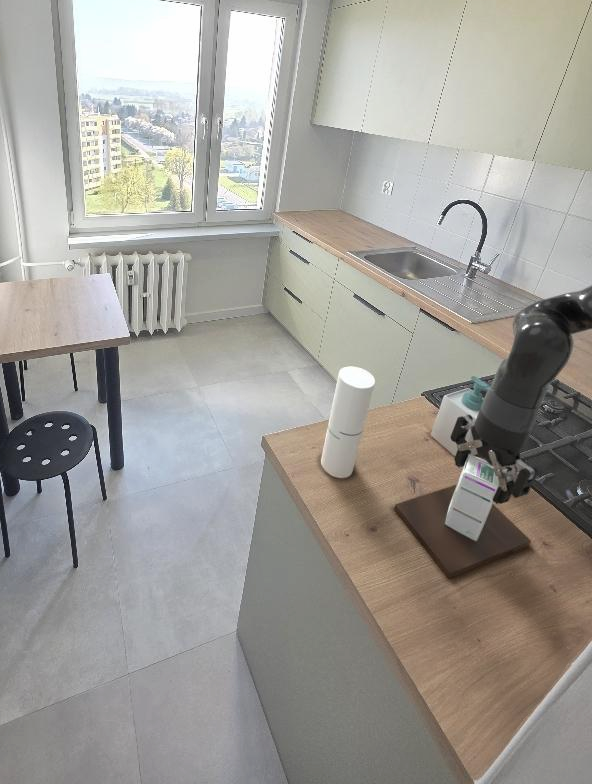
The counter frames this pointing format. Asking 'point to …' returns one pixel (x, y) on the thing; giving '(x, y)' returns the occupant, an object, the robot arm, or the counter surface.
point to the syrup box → (472, 497)
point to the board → (449, 544)
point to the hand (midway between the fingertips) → (478, 482)
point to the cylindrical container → (347, 420)
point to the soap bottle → (458, 414)
